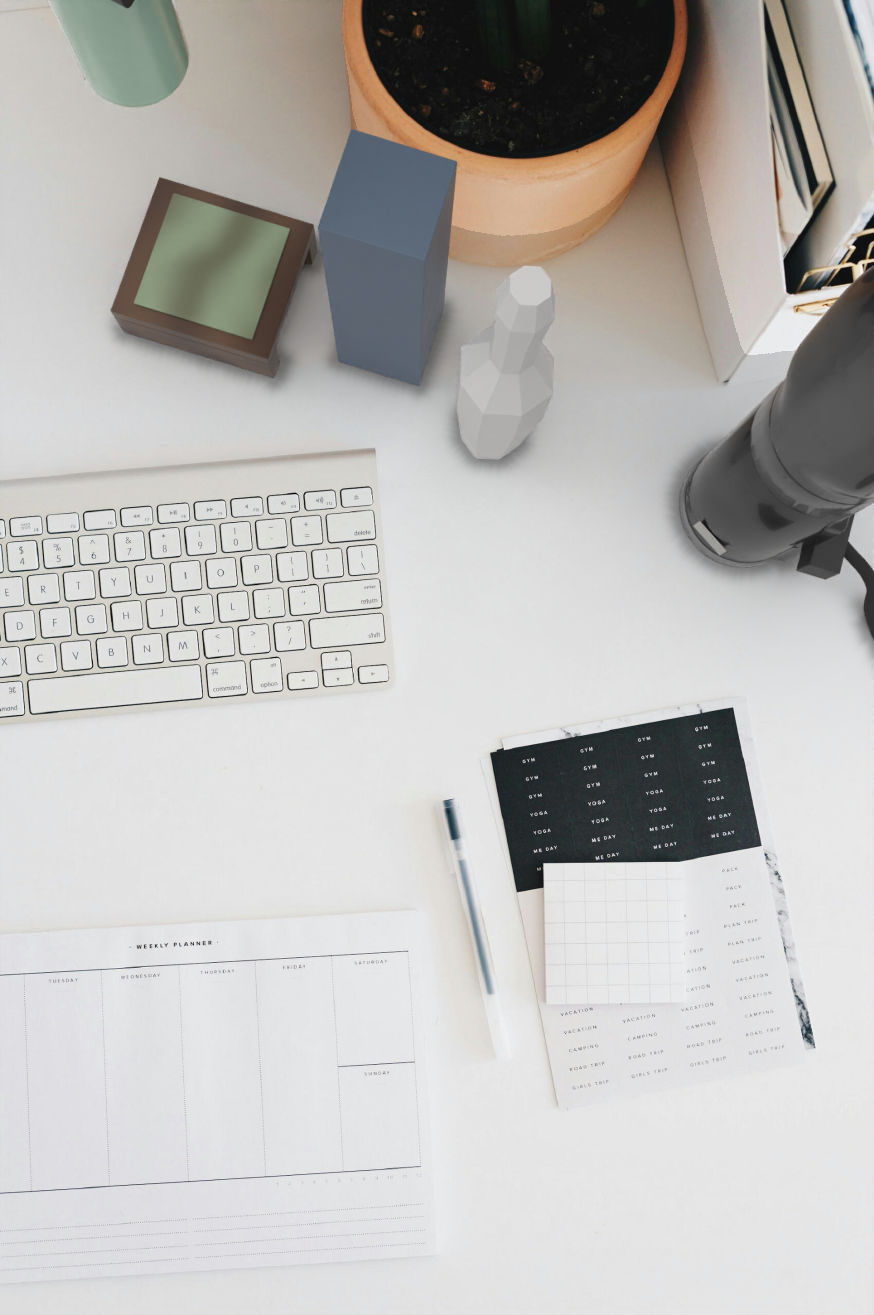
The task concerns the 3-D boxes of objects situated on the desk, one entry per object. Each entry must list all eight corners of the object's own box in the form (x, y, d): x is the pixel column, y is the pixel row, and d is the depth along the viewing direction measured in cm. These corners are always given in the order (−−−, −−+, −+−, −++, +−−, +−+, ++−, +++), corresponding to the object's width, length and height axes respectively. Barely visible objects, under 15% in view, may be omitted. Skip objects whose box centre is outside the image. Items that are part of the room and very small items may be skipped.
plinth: (443, 309, 72) (457, 160, 54) (419, 386, 71) (425, 260, 53) (363, 285, 71) (351, 127, 54) (338, 361, 71) (317, 227, 53)
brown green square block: (318, 249, 72) (313, 222, 68) (274, 378, 70) (267, 357, 67) (170, 203, 72) (158, 174, 68) (124, 332, 70) (109, 309, 67)
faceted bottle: (541, 458, 71) (605, 324, 49) (462, 481, 70) (491, 356, 48) (517, 382, 71) (568, 215, 49) (438, 404, 71) (455, 246, 49)
